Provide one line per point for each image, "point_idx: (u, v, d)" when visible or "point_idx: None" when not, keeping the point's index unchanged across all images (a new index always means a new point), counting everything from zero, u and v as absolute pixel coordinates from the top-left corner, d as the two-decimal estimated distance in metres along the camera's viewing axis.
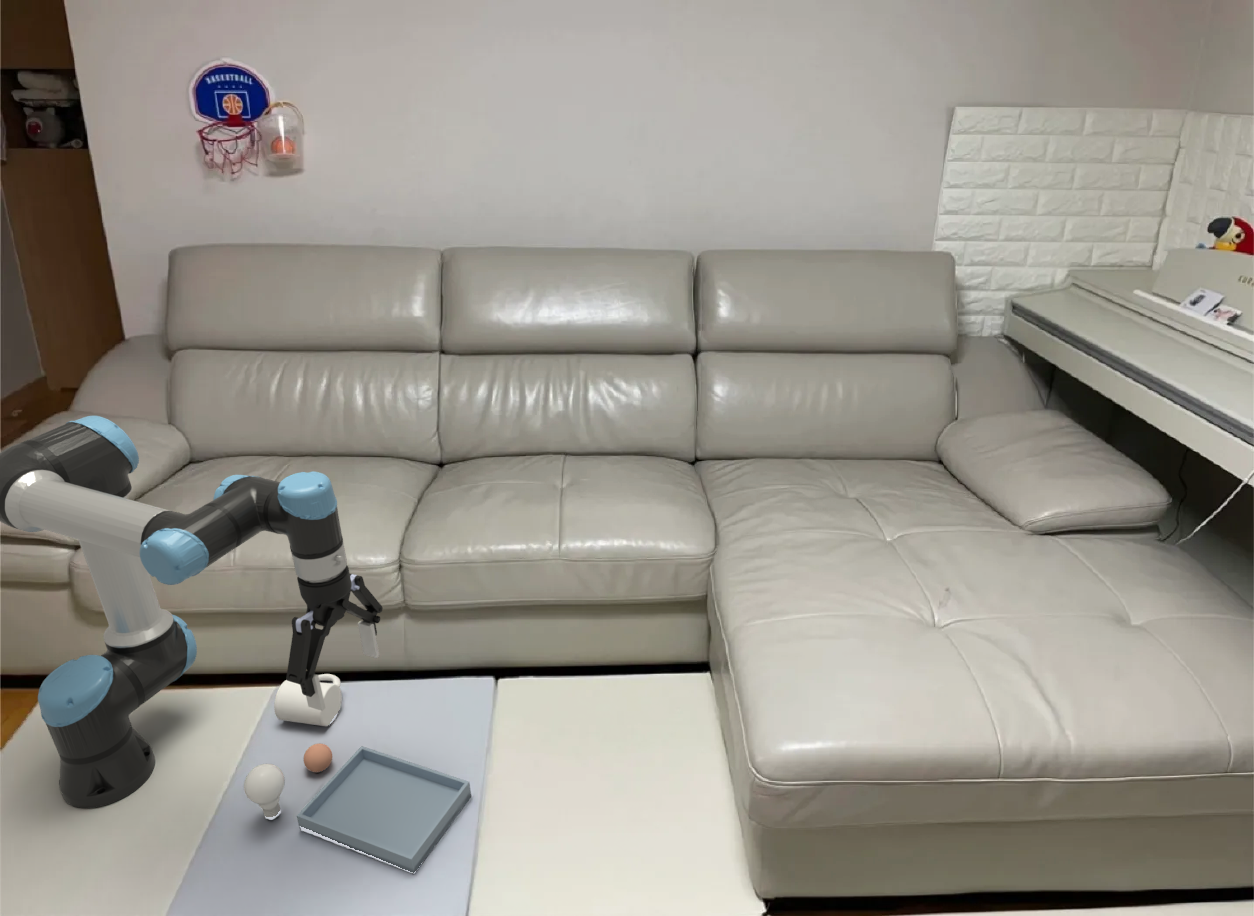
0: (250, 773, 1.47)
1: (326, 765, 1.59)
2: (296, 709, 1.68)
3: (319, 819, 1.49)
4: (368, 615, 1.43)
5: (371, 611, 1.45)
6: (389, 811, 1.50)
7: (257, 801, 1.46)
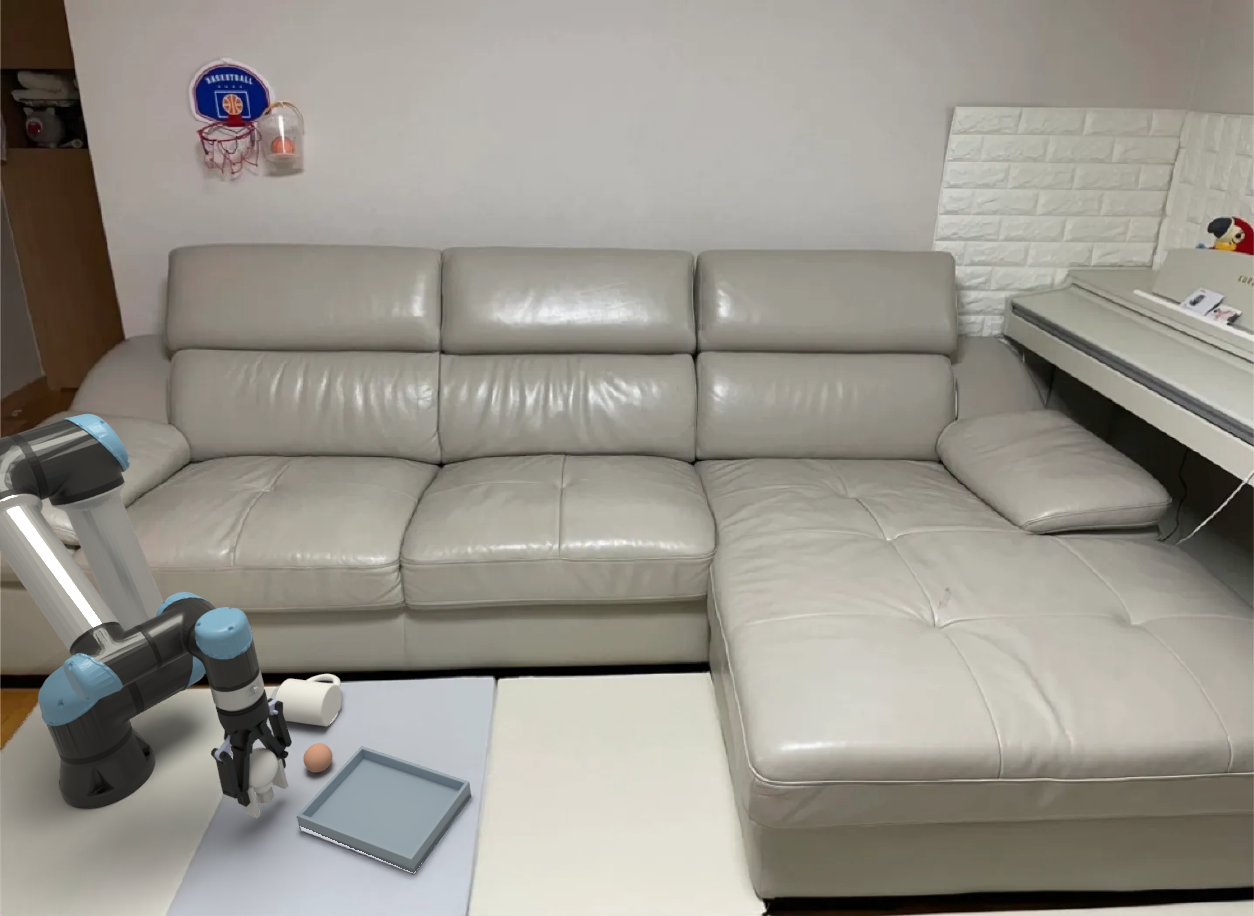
0: None
1: (326, 765, 1.59)
2: (296, 709, 1.68)
3: (319, 819, 1.49)
4: (278, 747, 1.49)
5: None
6: (389, 811, 1.50)
7: (250, 785, 1.45)
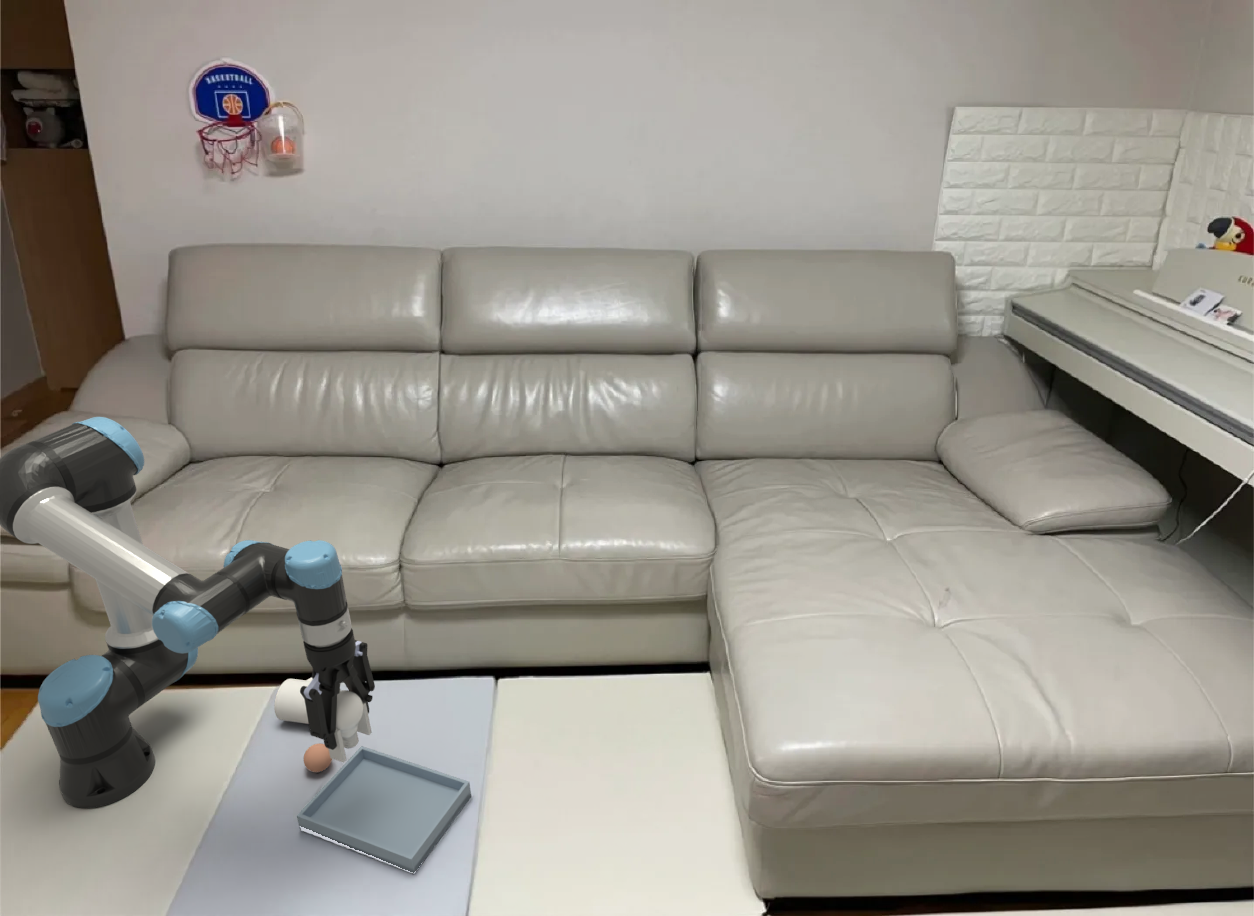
0: None
1: (326, 765, 1.59)
2: (296, 709, 1.68)
3: (319, 819, 1.49)
4: (363, 691, 1.46)
5: None
6: (389, 811, 1.50)
7: (337, 727, 1.42)
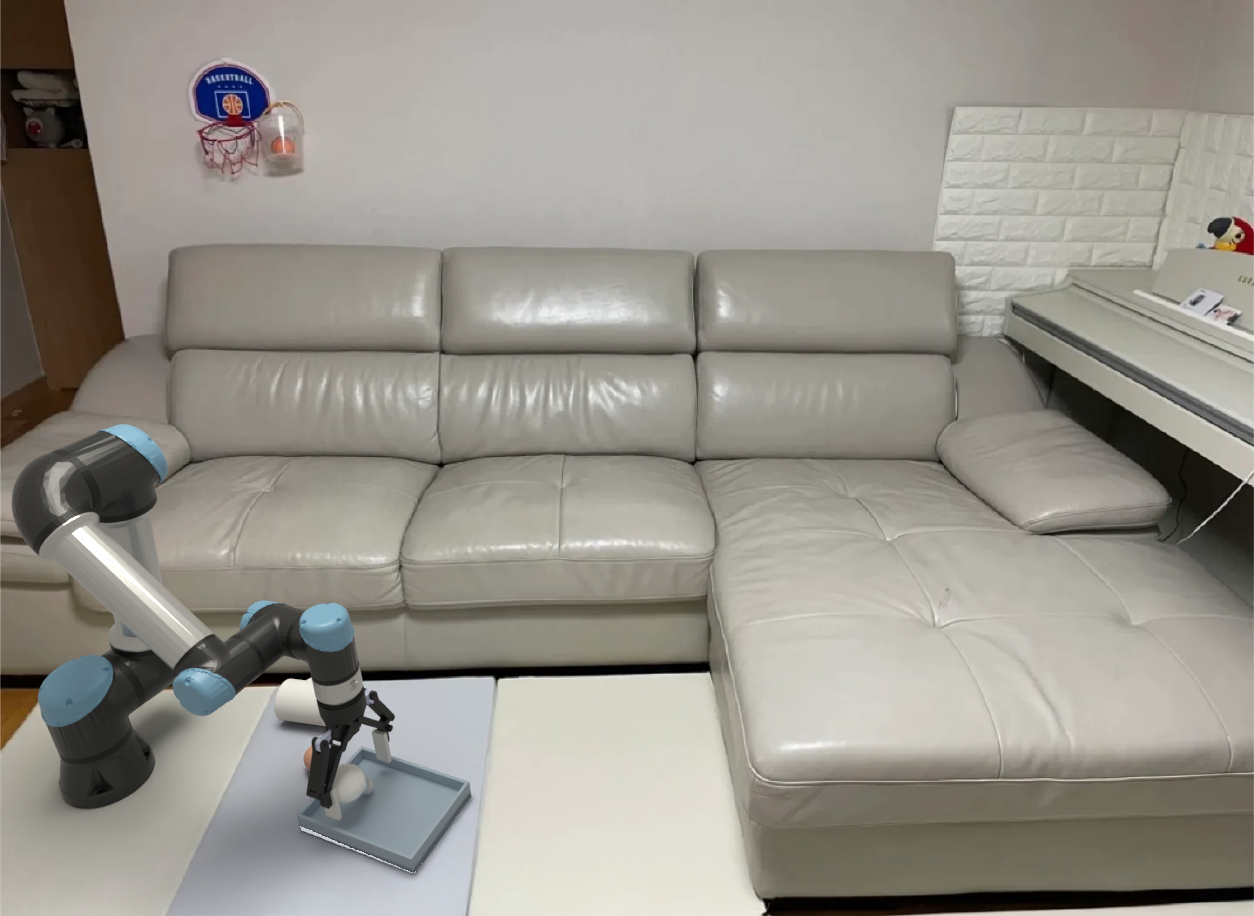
0: None
1: None
2: (296, 709, 1.68)
3: (319, 819, 1.49)
4: (381, 725, 1.53)
5: (384, 720, 1.55)
6: (389, 811, 1.50)
7: None
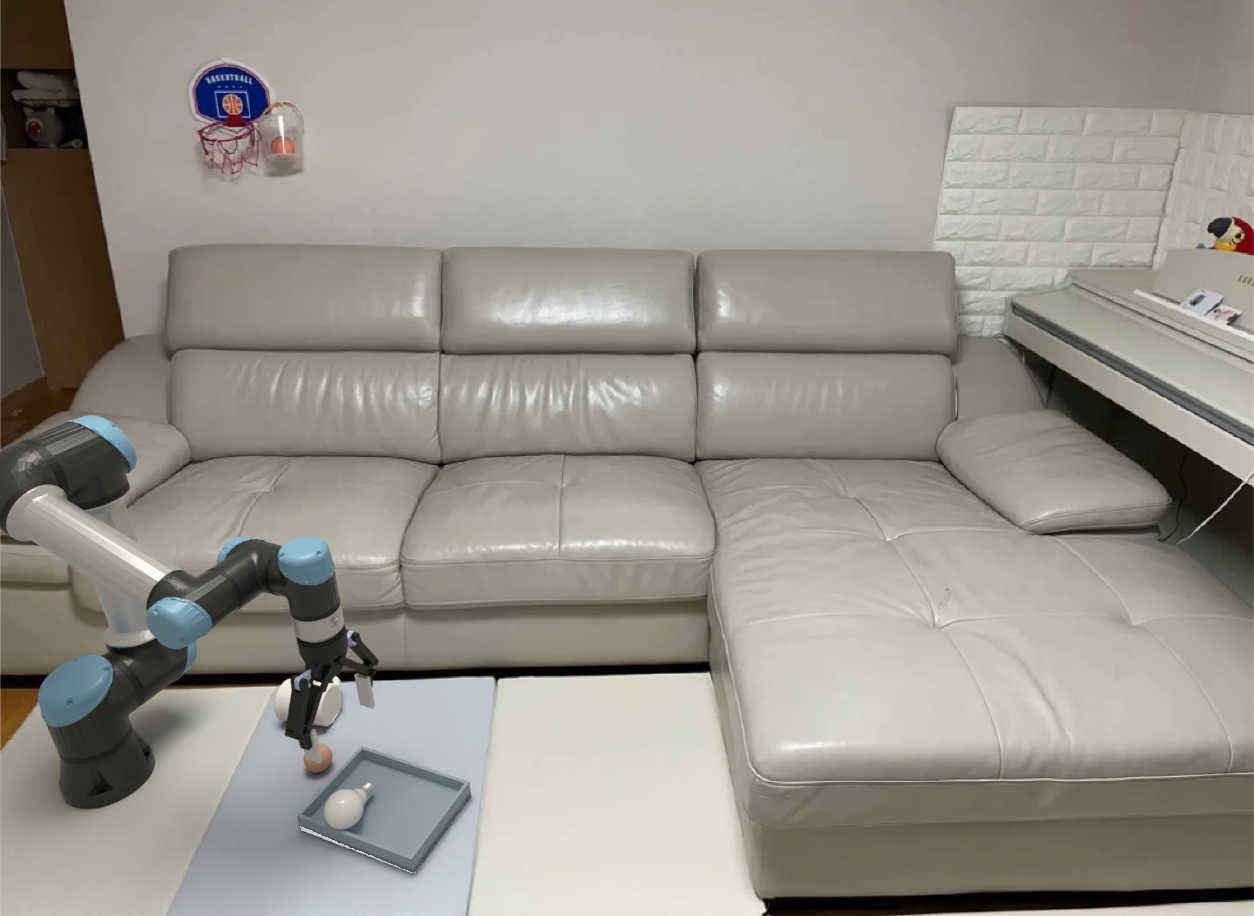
0: (325, 815, 1.44)
1: (326, 765, 1.59)
2: None
3: (319, 819, 1.49)
4: (364, 669, 1.49)
5: (367, 664, 1.51)
6: (389, 811, 1.50)
7: None
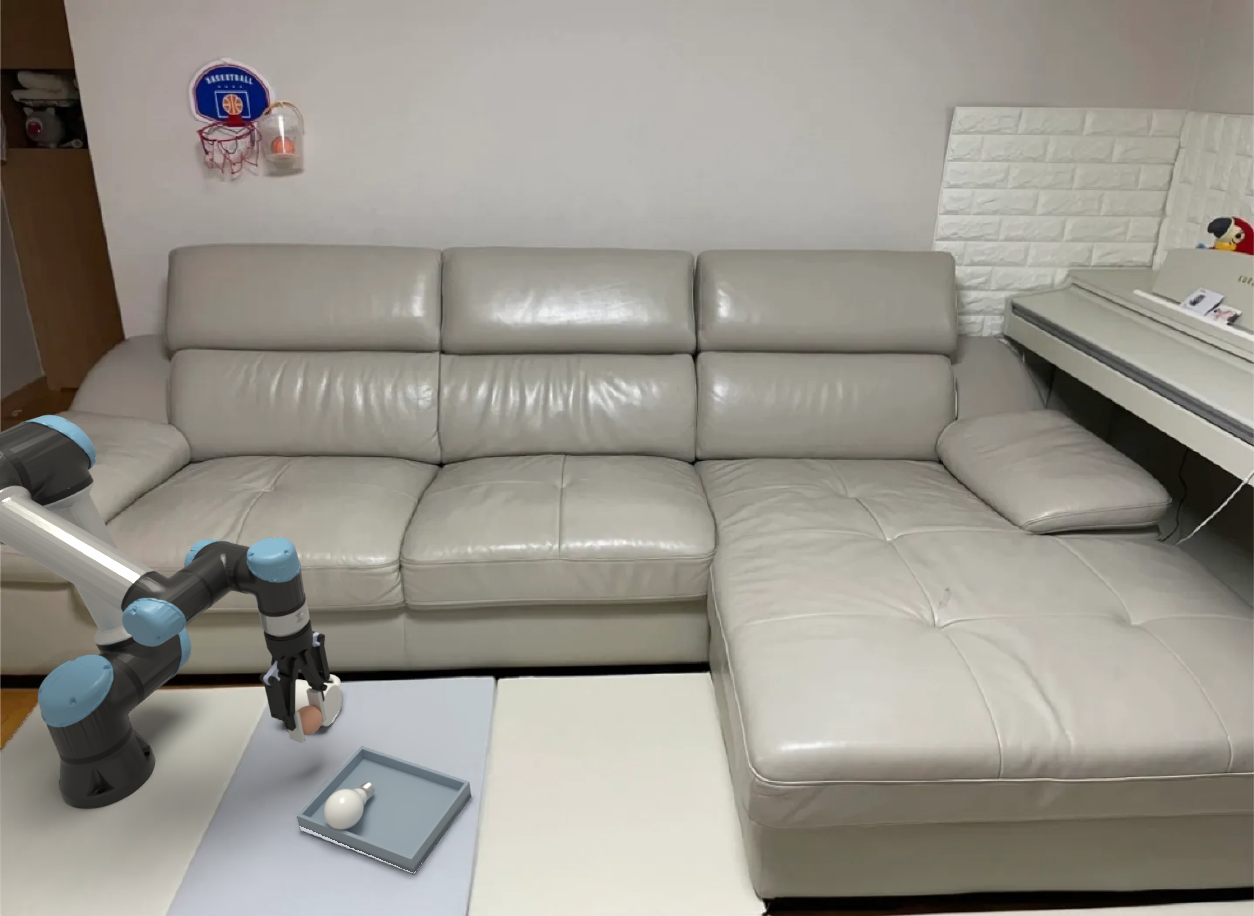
0: (325, 814, 1.44)
1: (316, 727, 1.55)
2: (296, 709, 1.68)
3: (319, 819, 1.49)
4: (318, 680, 1.56)
5: None
6: (389, 811, 1.50)
7: None
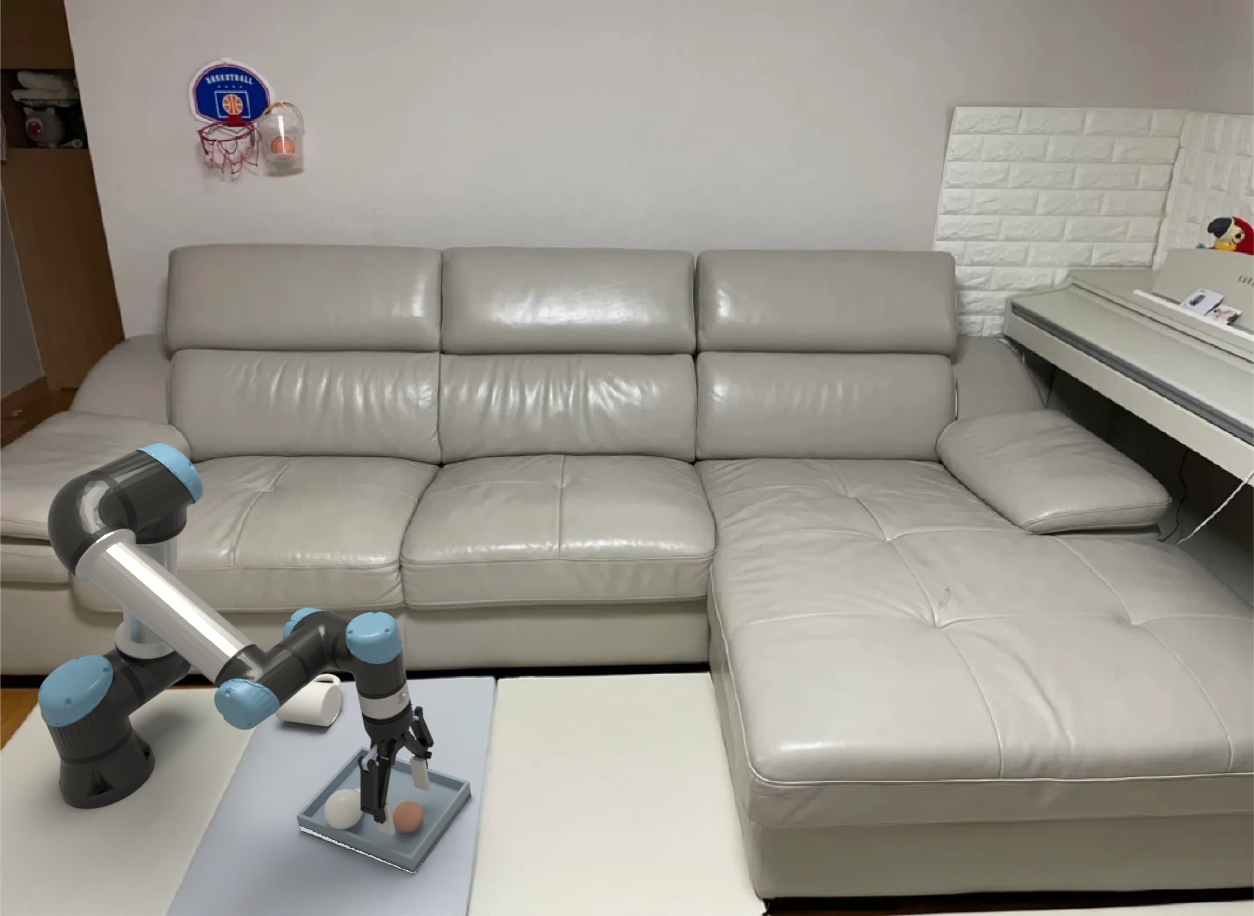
0: (325, 814, 1.44)
1: (418, 825, 1.45)
2: (296, 709, 1.68)
3: (319, 819, 1.49)
4: (422, 750, 1.45)
5: (423, 746, 1.47)
6: None
7: None
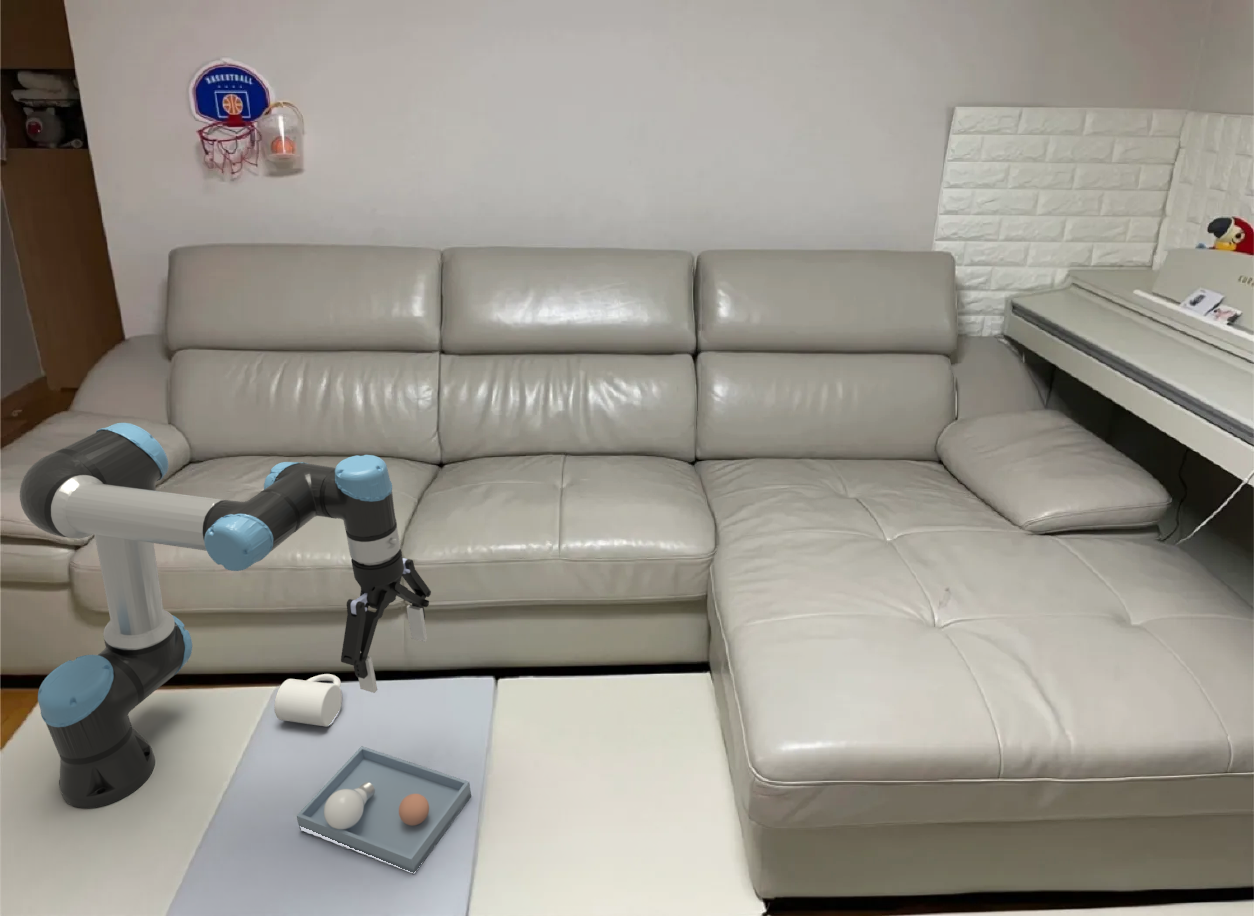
0: (325, 814, 1.44)
1: (423, 817, 1.46)
2: (296, 709, 1.68)
3: (319, 819, 1.49)
4: (417, 599, 1.44)
5: (420, 595, 1.46)
6: (389, 811, 1.50)
7: None
